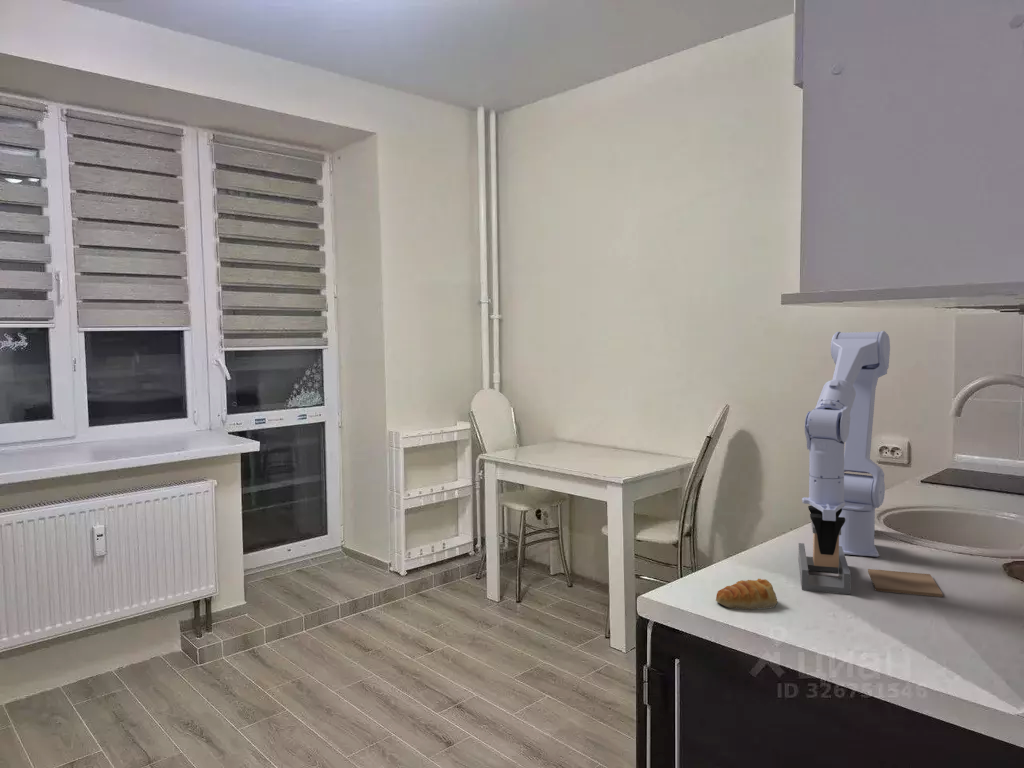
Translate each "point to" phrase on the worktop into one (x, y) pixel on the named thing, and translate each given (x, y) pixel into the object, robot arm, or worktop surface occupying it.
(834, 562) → the plug
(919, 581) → the walnut pad
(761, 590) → the pastry
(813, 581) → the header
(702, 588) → the worktop surface
